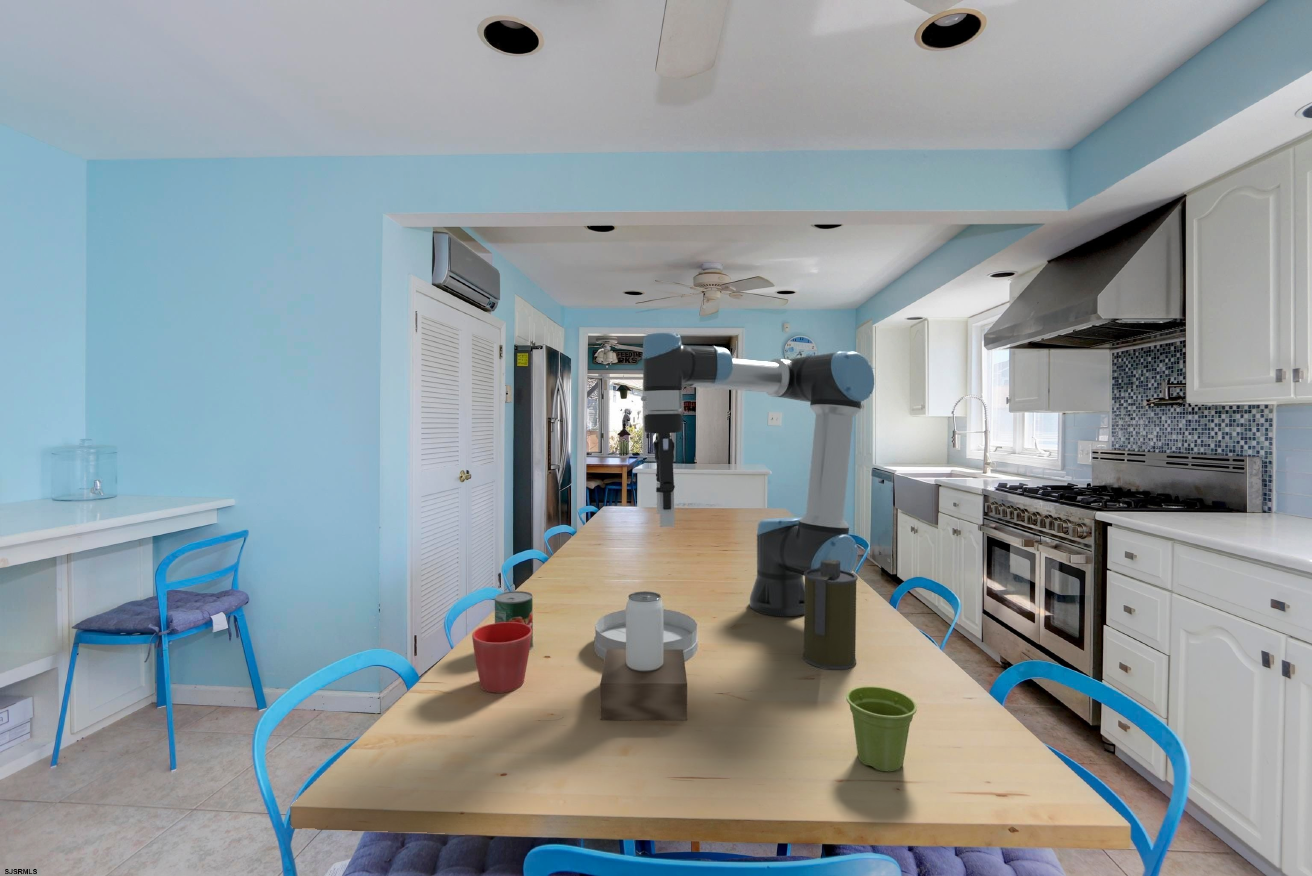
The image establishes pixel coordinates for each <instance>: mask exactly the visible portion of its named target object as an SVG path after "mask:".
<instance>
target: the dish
mask: <svg viewBox="0 0 1312 876" xmlns="http://www.w3.org/2000/svg"><path fill="white" fill-rule="evenodd" d="M594 625H595V626H594V630H595V636H594V637H593V638H594V641H593V642H594V643H593V644H594V652H595V653H596V655H597V656H598V657H599V656H600V657H599V658H601V659H602V660H604V659H605V658H606V653H607V649H626V609H622V610H617V611H614V612H613V611H612V612H610V613H608V614H605V615H603V616H602V617H600V618H599V619H597V621H596V622H595V624H594ZM698 640H699V637H698V623H697V622H696V620H695V619H694V618H693V617H692V616H690V615H687V614H685V613H683V612H680V611H677V610H671V609H666V608H665V609H664V608H663V649H683V654H684V662H686V661H688V660H690V659H691V658H692V657H694V656H695V655H696V653H697V652H698V647H699V641H698Z"/></svg>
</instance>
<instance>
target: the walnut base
mask: <svg viewBox="0 0 1312 876" xmlns="http://www.w3.org/2000/svg"><path fill="white" fill-rule="evenodd" d="M685 662H686V661H684V654H683V649H663V664H662V666H661V667H660V668H659V669H657V670H654V671H649V672H639V671H635V670H632V669H630V668H629V667H628V665H627V664H626V649H607V653H606V658H605V660H604V662H603V663H604V664H603V669H602V673H601V678H600V683H599V685H600V687H599V689H600V690H599V693H600V694H599V695H600V699H599V701H600V703H599V707H600V708H599V709H600V715H599V717H600V718H599V719H600V721H687V720H688V679H687V672H686V663H685Z"/></svg>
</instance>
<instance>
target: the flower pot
mask: <svg viewBox="0 0 1312 876" xmlns="http://www.w3.org/2000/svg"><path fill="white" fill-rule="evenodd" d="M471 637H472V638H471V639H472V645H473V646H472V647H473V650H474V651H473V653H474V659H475V663H476V669H477V674H478V678H479V679H478V680H479V685H480V688H482V690H483V691H485V692H488V693H496V694H498V693H499V694H501V693H507V692H509V693H510V692H512V691H515V690H517V689H519V688H520V687H522V685H523V684H524V683H525V677H526V671H527V666H528V661H529V655H530V650H531V649H530V645H531V638H532V629H531V627H530V626H528V625H526V624H523V623H517V622H500V623H495V622H493V623H489V624H485V625H482V626H480V627H478V628H477V629H475V630H474V631H473V632H472V635H471Z"/></svg>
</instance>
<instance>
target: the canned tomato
mask: <svg viewBox="0 0 1312 876" xmlns="http://www.w3.org/2000/svg"><path fill="white" fill-rule="evenodd" d="M533 602H534V601H533V593H531V592H529V591H524V590H523V591H522V590H513V591H505V592H500V593H499V594H497V595H494V623H500V622H517V623H523V624H526V625H528V626H530V627H531V629H532V638H531V645H530V650H532V649H533V647H534V644H533V643H534V639H533V638H534V636H533V635H534V634H533V632H534V631H533V630H534V629H533V626H534V622H533V619H534V618H533V616H534V613H533V612H534V610H533V608H534V607H533V606H534V605H533V604H534V603H533Z"/></svg>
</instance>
